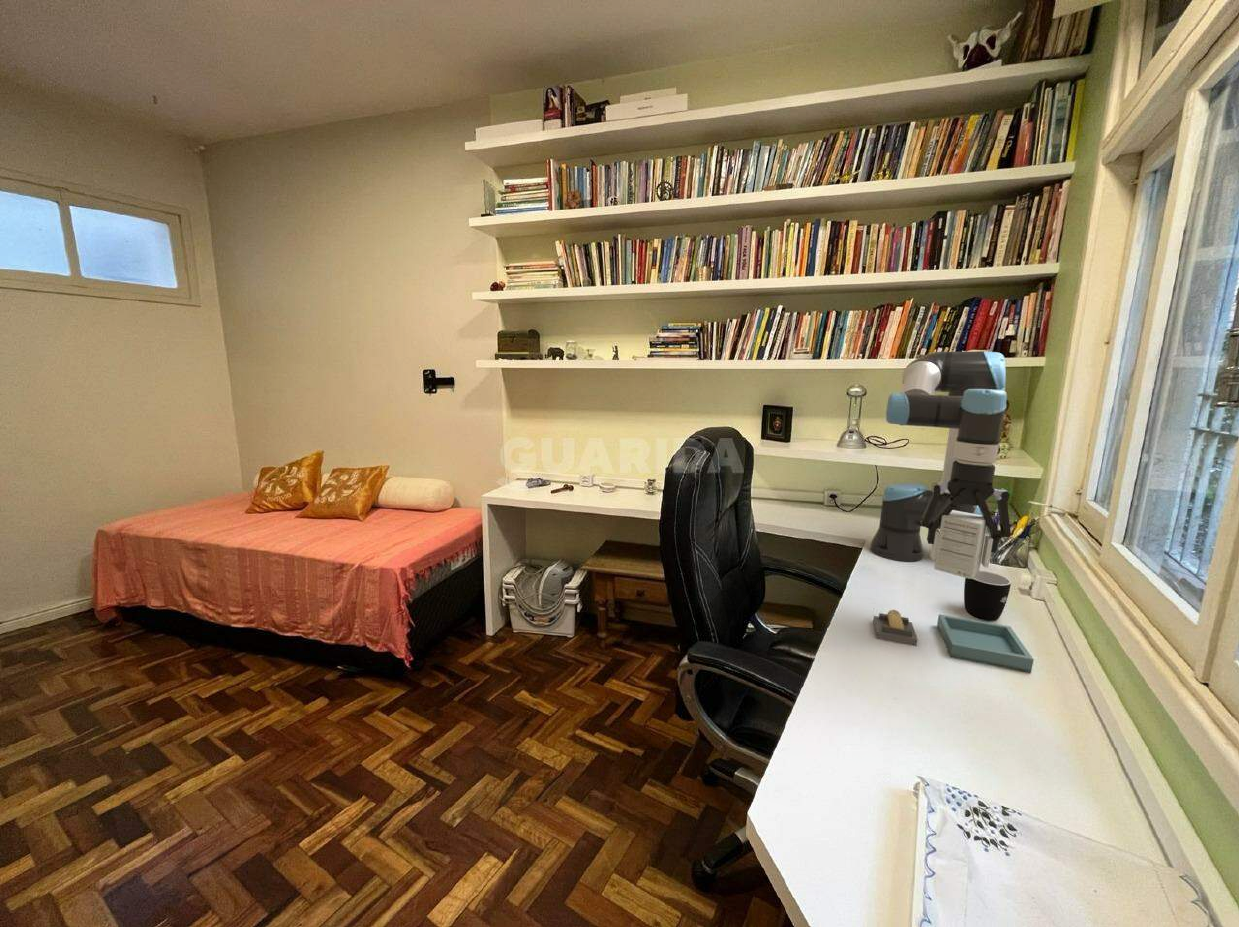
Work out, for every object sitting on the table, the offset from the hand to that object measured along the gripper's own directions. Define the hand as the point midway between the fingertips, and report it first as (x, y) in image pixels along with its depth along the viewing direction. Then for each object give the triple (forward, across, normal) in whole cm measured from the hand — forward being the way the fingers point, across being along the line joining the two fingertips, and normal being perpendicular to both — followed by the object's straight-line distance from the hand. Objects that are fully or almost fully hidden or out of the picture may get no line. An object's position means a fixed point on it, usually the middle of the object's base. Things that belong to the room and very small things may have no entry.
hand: (958, 561), depth 112 cm
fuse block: (+18, -11, -4) cm, 22 cm away
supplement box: (+2, 0, 0) cm, 2 cm away
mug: (+18, +10, +17) cm, 27 cm away
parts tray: (+18, +6, -2) cm, 19 cm away
